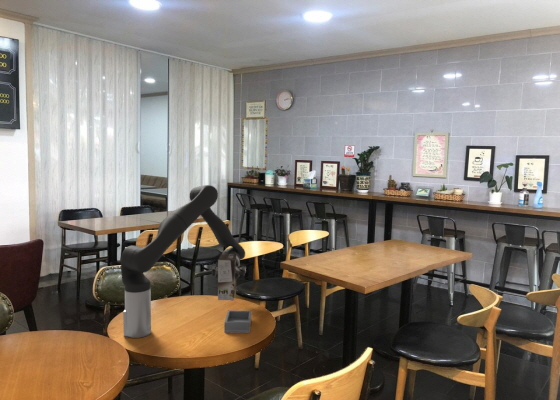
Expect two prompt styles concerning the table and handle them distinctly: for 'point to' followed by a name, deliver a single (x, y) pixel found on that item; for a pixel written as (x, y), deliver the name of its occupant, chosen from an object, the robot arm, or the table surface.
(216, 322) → the table surface
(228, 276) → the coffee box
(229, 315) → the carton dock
